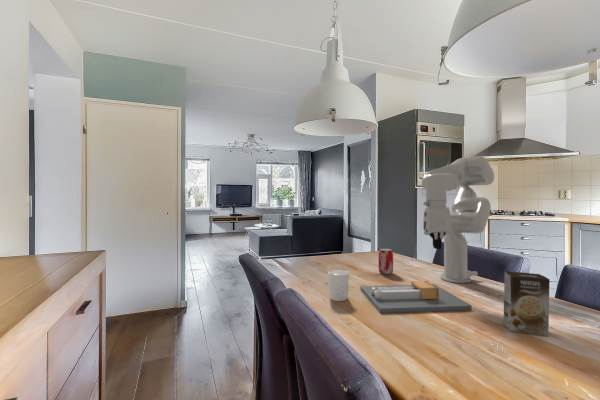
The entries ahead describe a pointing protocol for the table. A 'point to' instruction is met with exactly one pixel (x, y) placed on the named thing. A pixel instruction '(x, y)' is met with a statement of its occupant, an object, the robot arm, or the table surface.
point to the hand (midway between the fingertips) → (437, 248)
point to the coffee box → (526, 303)
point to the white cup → (338, 284)
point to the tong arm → (392, 288)
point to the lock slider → (426, 289)
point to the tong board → (412, 300)
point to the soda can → (385, 261)
